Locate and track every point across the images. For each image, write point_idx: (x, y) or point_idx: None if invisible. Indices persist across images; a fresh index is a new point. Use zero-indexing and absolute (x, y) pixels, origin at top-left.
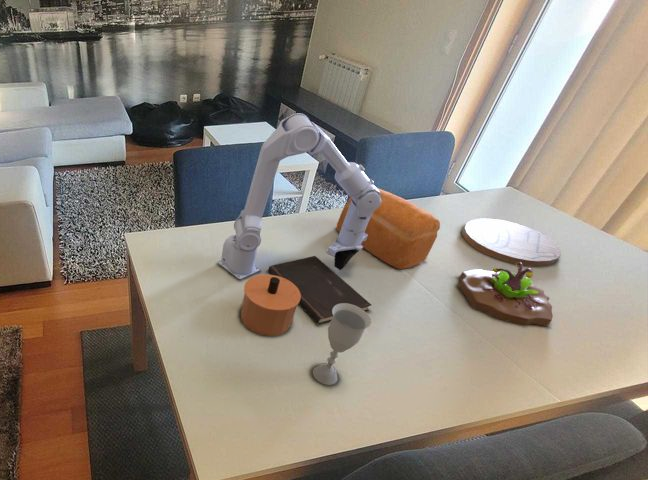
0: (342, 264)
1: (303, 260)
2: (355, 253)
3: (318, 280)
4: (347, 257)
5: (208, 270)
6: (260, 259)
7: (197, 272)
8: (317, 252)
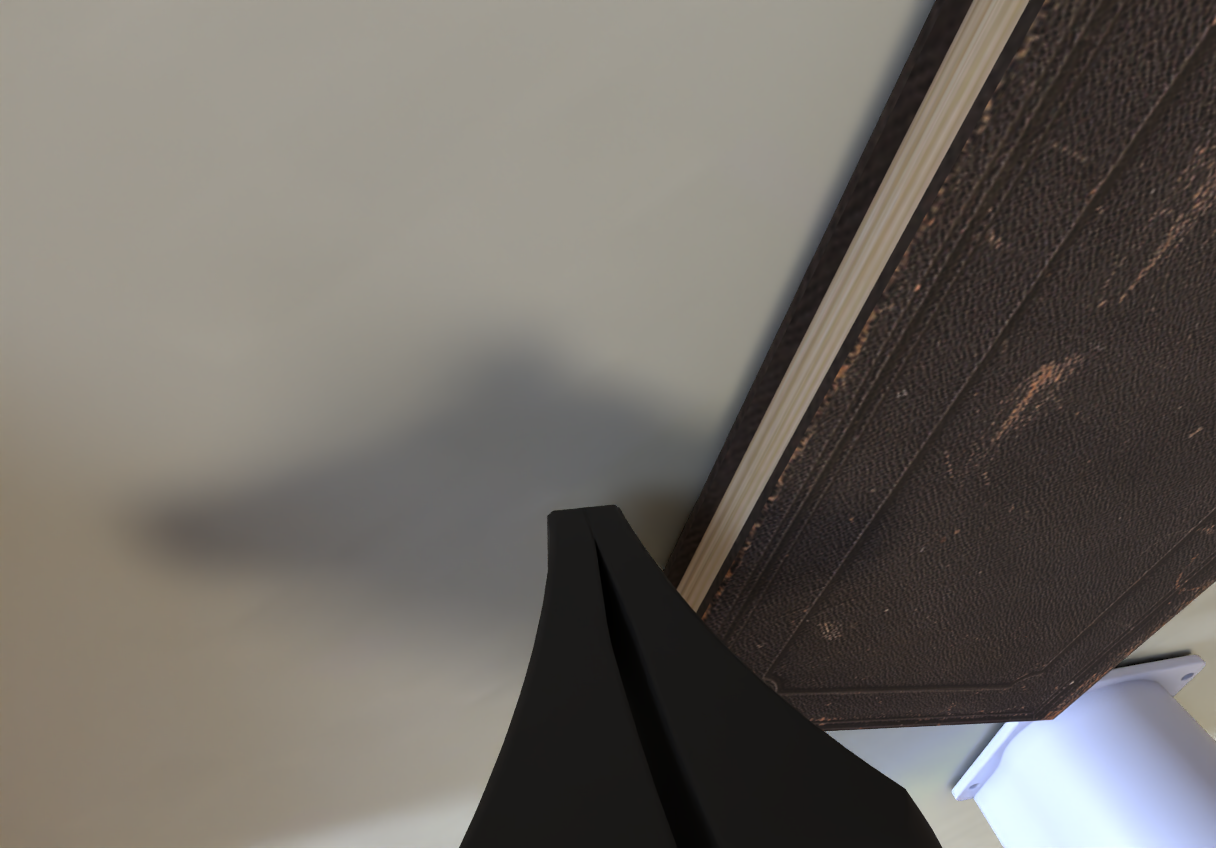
0: (667, 587)
1: (807, 715)
2: (535, 820)
3: (1074, 467)
4: (844, 757)
5: None
6: (895, 750)
7: (1209, 733)
8: (444, 738)
